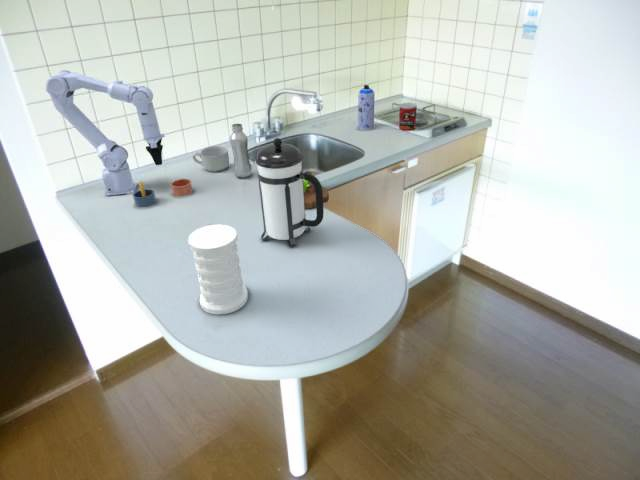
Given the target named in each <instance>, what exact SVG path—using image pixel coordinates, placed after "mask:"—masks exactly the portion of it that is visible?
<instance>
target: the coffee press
mask: <svg viewBox="0 0 640 480" xmlns="http://www.w3.org/2000/svg"><path fill="white" fill-rule="evenodd" d="M254 160H255V161H254V163H255V164H256V165H257V171H256V173H257V179H258V188H259V196H260V197H259V198H260V206H261V214H262V225H263V233H262V234H261V236H260V238H261V240H262V242H266V241H267V240H269V238H271V239H274V240H278V241H288V244H289V247H290V248H292V247H296V242H295V239H296V238H298V237H300V236H301V235H303V233H304V232H306V233H308V232H310V230H311V228H315V227H318V226H319V225H320V224H321V223H322V221H323V220H324V214H325V213H324V203H323V191H322V187H323V186H321V185H322V183H321V182H320V180H319V179H318V178H317V177H316V176H315V175H314V176H313V175H311V174H310V173H306V174H305V172H304V169H303V165H302V162H303V153H302V152H301V151H300V149H299V148H297V146H295V145H293V144H289V143H283V141H282V139H281V138H279V137H276V138H274V140H273V142H272V144H269V145H266V146H263V147H262V148H260V150H258V152H257V154H256V156H255V159H254ZM304 179H305V180H307V181H309V182H311V183H312V184H313V186H314V188H315V192H316V207H315V210H316V217H315V219H314V220H311V219H306V209H305V204H304V188H303V180H304ZM306 227H307V229H306ZM265 235H266V236H265ZM264 237H265V238H264Z"/></svg>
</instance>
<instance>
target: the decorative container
mask: <svg viewBox="0 0 640 480" xmlns="http://www.w3.org/2000/svg"><path fill="white" fill-rule="evenodd" d="M238 240H239V239H238V232H237V230H236V228H234V227H233V226H231V225H227V224H217V223H215V224H209V225H205V226H202V227H199V228H197V229H195V230H193V231H192V233H190V234H189V236H188V238H187V242H188V247H189V248H190V250H192V258H193V259H194V261H195V266H194V267H195V270H196V272H197V280H198V282H199V284H200V285H199V290H200V295H199V304H200V307H201V309H202V310H203V311H204V312H206V313H208V314H212V315H227V314H231V313H234V312H236V311H238V310H240V309H241V308H242V307H244V306H245V304H246V303H247V301H248V299H249V294H248V293H249V292H248V289H247V287H246V286H245V285H244V281H243V277H242V269H241V266H240V256H239V255H238V251H239V250H238V249H239V248H238V245H237V242H238Z"/></svg>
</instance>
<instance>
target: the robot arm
mask: <svg viewBox="0 0 640 480" xmlns="http://www.w3.org/2000/svg"><path fill="white" fill-rule="evenodd" d="M45 83H46V84H45V91H46V92H47V93H48V94H49V96H50V98H51V101H52V103H53V107H54V108H55V109H56V110H57V111H58V112H59V114H60V115H62V117H64V119H66V120H67V122H68V123H69V124H71V126H73V128H74V129H76V131H77V132H79V134H80V135H81V136H82V137H83V138H84V139H85V140H86V141H87V142H88V143H89V144H90V145H91V146H92V147H93V148H95V150H96V153H97V157H98V158H99V159H100V160H101V162H102V165H103V167H104V168H103V169H102V170H101V178H102V182H103V185H104V188H105V191H106V196H109V197H110V196H117V195H126V194H131V193H135V190H136V188H137V186H138V183H136V182H135V183H134V179H133V176H132V173H131V169H130V164H129V163H128V161H127V160H128V158H129V152H128V150H127V149H126V148H125V147H123V146H122V145H119V144H118V143H117V142H116V141H114V140H111V139H109V138H108V137H107V136H106V135H105V134H104V133H103V131H101V130H100V129H99V127H97V126H96V125H95V124H94V123H93V122H92V120H90V118H88V116H86V115H85V113H84V112H83V111H82V110H81V109H80V108H79V107H78V106H77V105H76V104H75V103H74V98H75V97H74V96H75V95H74V93H75V91H77V90H80V89H81V90H82V89H85V90H90V91H95V92H98V93H103V94H108V95H109V97H110V98H111V99H113V100H117V101H119V102H120V101H121V102H124V103H129V104H132V105H133V106H134V107H135V109H136V112H137V113H136V114H137V116H138V121H139V124H140V128H141V132H142V135H143V141H145V142H146V143H147V144H148V145H147V146H146V145H145V150H146V151H147V153H148V154H149V155H150V156H151V158H152V161H153V162H154V164H155V166H162V165H163V156H162V155H163V148H164V145H163V144H162V141H163V138H165V137H166V136H165V134H164V133H161V130H160V126H159V122H158V118H157V114H156V110H155V106H154V103H153V99H154V93H153V91H152V90H151V89H150V88H149V87H147V86H145V85H141V86H138V85H137V84H134V85H131V84H128V83H124V82H123V80H120V79H118V80H113V81H112V82H106V81H105V80H101V79H97V78H94V77H91V76H88V75H85V74H82V73H79V72H76V71H70V70H66V69H64V70H61V71H59V72H58V73H56V74H54V75H51V76H49V77H48V78H47V79H46V82H45Z"/></svg>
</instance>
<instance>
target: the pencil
mask: <svg viewBox="0 0 640 480" xmlns="http://www.w3.org/2000/svg"><path fill="white" fill-rule="evenodd" d="M138 183H139V190H141V193H142V196H143V197H146V193H145V189H146V188H145V185H144V182H143V181H142V180H140V181H138Z"/></svg>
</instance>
